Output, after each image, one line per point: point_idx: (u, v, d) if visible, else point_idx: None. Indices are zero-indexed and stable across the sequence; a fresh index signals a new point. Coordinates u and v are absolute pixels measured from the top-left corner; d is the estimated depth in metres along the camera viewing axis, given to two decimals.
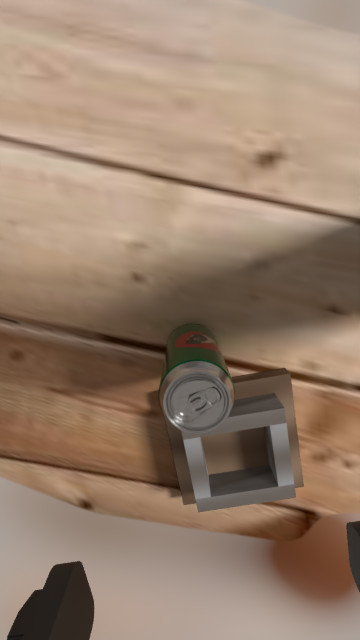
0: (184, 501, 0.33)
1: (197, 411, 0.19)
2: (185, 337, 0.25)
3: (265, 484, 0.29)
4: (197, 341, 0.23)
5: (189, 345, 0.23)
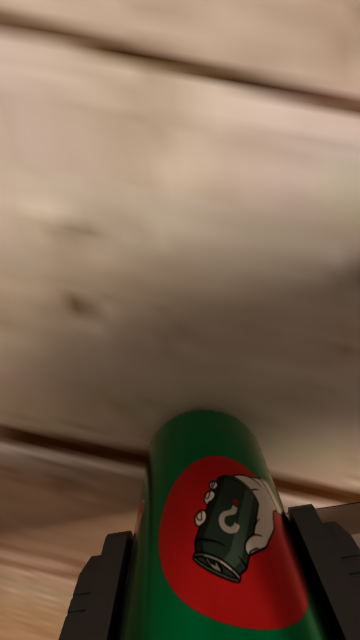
0: None
1: None
2: (192, 498, 0.08)
3: None
4: (234, 553, 0.07)
5: (210, 591, 0.06)
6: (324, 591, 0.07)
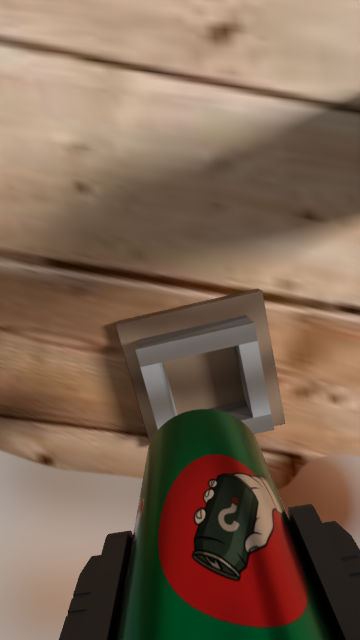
0: None
1: None
2: (191, 497, 0.08)
3: (239, 417, 0.26)
4: (233, 550, 0.07)
5: (210, 588, 0.06)
6: (324, 591, 0.07)
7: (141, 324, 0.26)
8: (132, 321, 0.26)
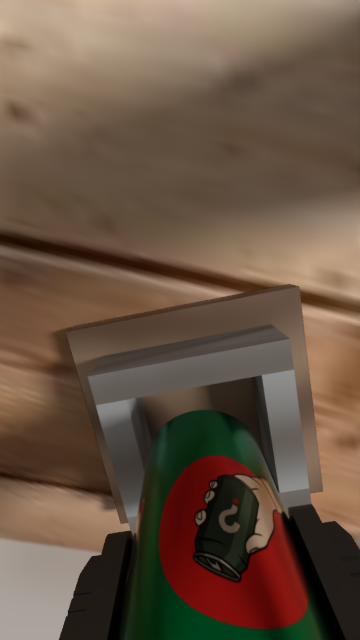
0: (121, 517, 0.19)
1: None
2: (192, 498, 0.08)
3: None
4: (234, 552, 0.07)
5: (210, 590, 0.06)
6: (324, 591, 0.07)
7: (106, 333, 0.17)
8: (92, 327, 0.17)
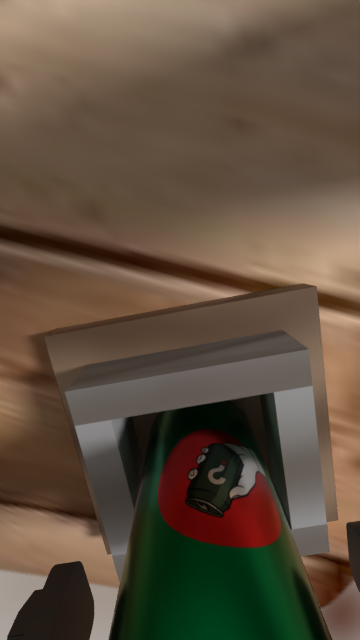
0: (108, 547, 0.17)
1: None
2: (186, 460, 0.10)
3: None
4: (219, 498, 0.08)
5: (198, 523, 0.07)
6: None
7: (91, 338, 0.14)
8: (74, 332, 0.14)
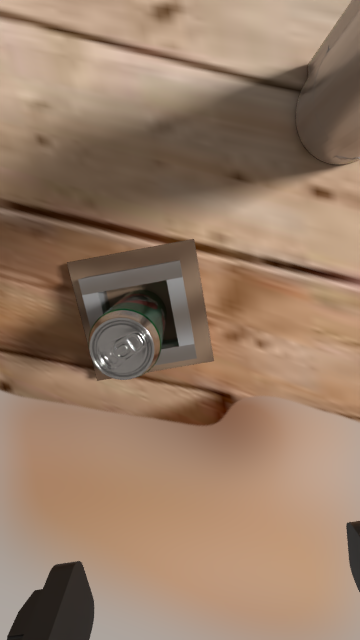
0: (97, 376, 0.33)
1: (122, 358, 0.20)
2: (126, 297, 0.26)
3: (167, 346, 0.30)
4: (134, 299, 0.24)
5: (124, 301, 0.23)
6: None
7: (89, 263, 0.30)
8: (81, 260, 0.30)
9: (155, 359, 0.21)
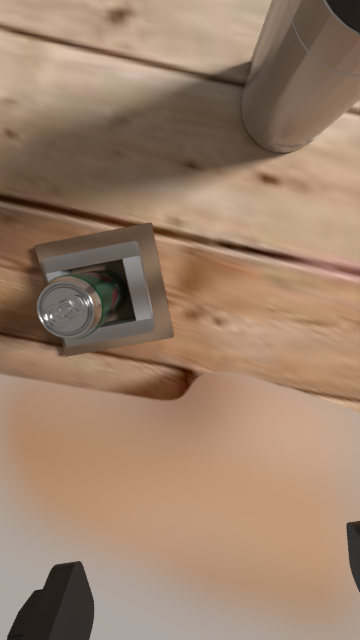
0: (66, 352, 0.36)
1: (66, 318, 0.23)
2: None
3: (126, 321, 0.32)
4: (86, 272, 0.27)
5: None
6: None
7: (55, 246, 0.33)
8: (48, 243, 0.33)
9: (98, 320, 0.23)
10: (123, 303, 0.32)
